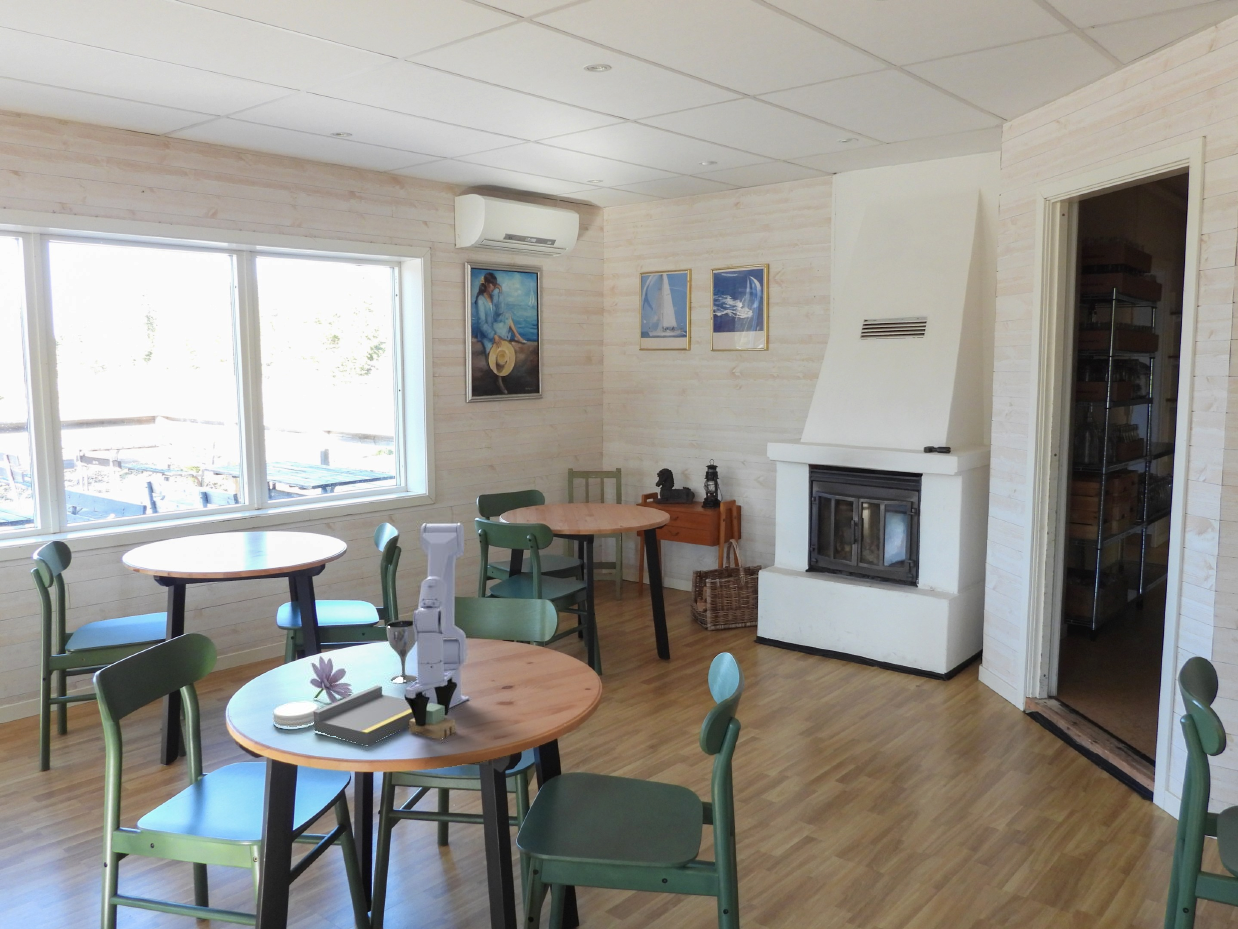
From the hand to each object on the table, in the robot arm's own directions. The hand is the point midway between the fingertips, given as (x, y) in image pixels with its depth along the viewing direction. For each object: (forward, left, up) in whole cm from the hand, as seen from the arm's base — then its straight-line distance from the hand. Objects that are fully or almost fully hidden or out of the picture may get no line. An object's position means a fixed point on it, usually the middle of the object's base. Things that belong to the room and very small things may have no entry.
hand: (432, 719), depth 210 cm
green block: (0, 0, 0) cm, 0 cm away
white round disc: (-32, -10, -3) cm, 34 cm away
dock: (-15, -3, -3) cm, 16 cm away
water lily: (-35, +4, -3) cm, 35 cm away
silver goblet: (-31, +25, -3) cm, 40 cm away
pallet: (0, 0, -3) cm, 3 cm away
